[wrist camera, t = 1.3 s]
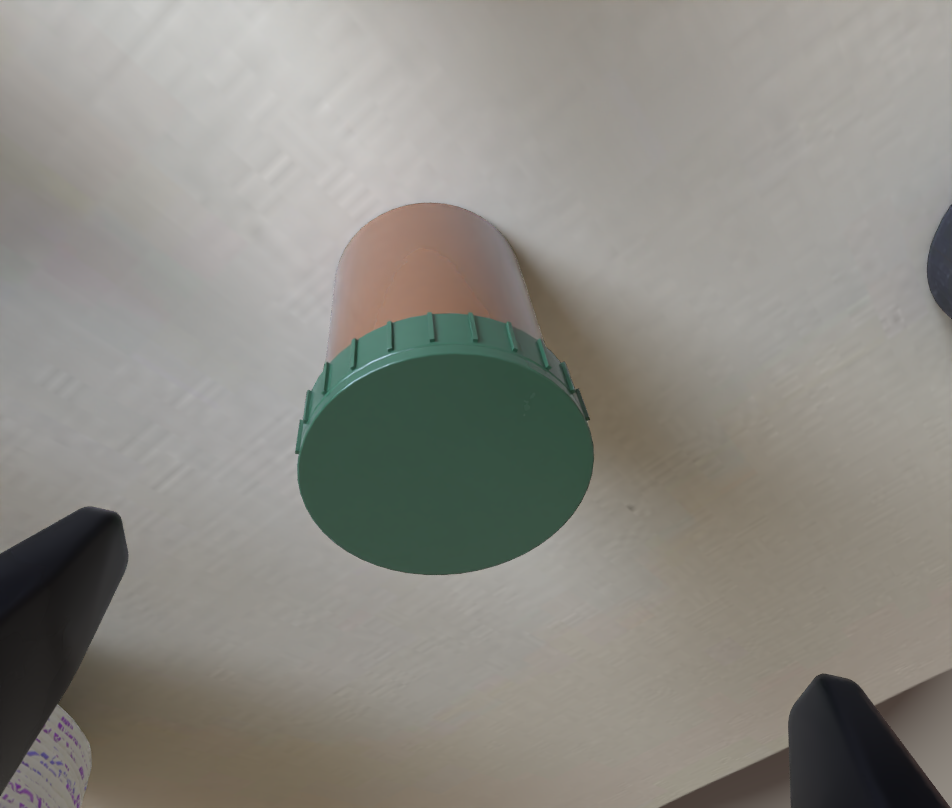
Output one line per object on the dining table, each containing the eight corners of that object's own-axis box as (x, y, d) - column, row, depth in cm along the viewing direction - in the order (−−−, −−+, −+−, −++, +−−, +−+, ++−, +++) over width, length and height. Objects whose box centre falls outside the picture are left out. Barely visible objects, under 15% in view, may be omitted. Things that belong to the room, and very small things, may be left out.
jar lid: (481, 558, 21) (487, 606, 20) (254, 473, 18) (243, 522, 17) (638, 389, 18) (658, 432, 16) (391, 255, 15) (392, 293, 14)
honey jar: (456, 394, 26) (482, 579, 20) (302, 320, 24) (270, 502, 17) (558, 262, 24) (627, 425, 17) (394, 164, 21) (399, 308, 14)
